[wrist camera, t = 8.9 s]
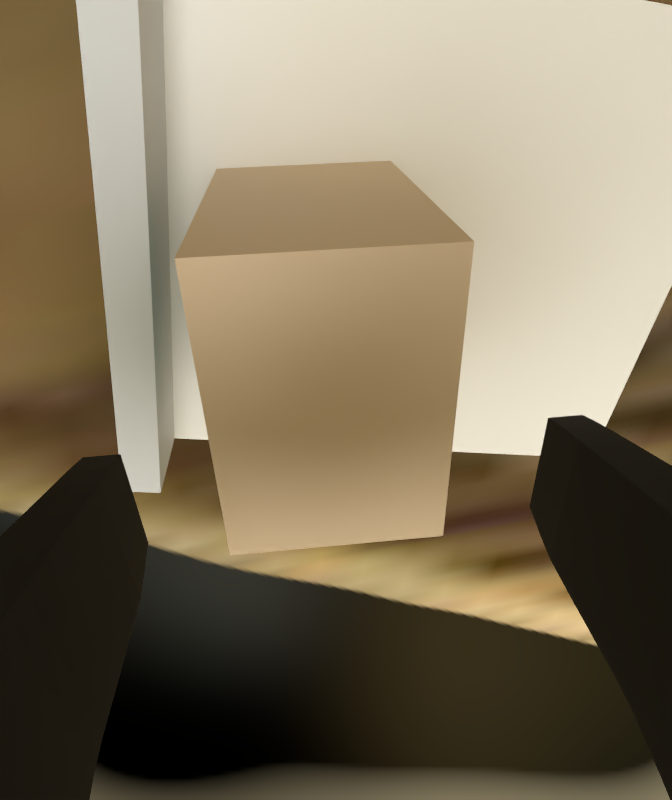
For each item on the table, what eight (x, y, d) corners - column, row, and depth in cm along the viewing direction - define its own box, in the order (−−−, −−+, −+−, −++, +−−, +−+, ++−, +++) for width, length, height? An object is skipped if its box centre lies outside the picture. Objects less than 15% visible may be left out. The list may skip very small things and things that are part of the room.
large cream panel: (105, -96, 13) (54, -139, 10) (775, 28, 16) (895, 23, 13) (139, 426, 21) (117, 491, 18) (584, 449, 24) (629, 508, 21)
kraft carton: (390, 160, 16) (474, 241, 9) (385, 370, 20) (442, 535, 13) (209, 169, 16) (161, 259, 9) (239, 380, 20) (221, 556, 13)
